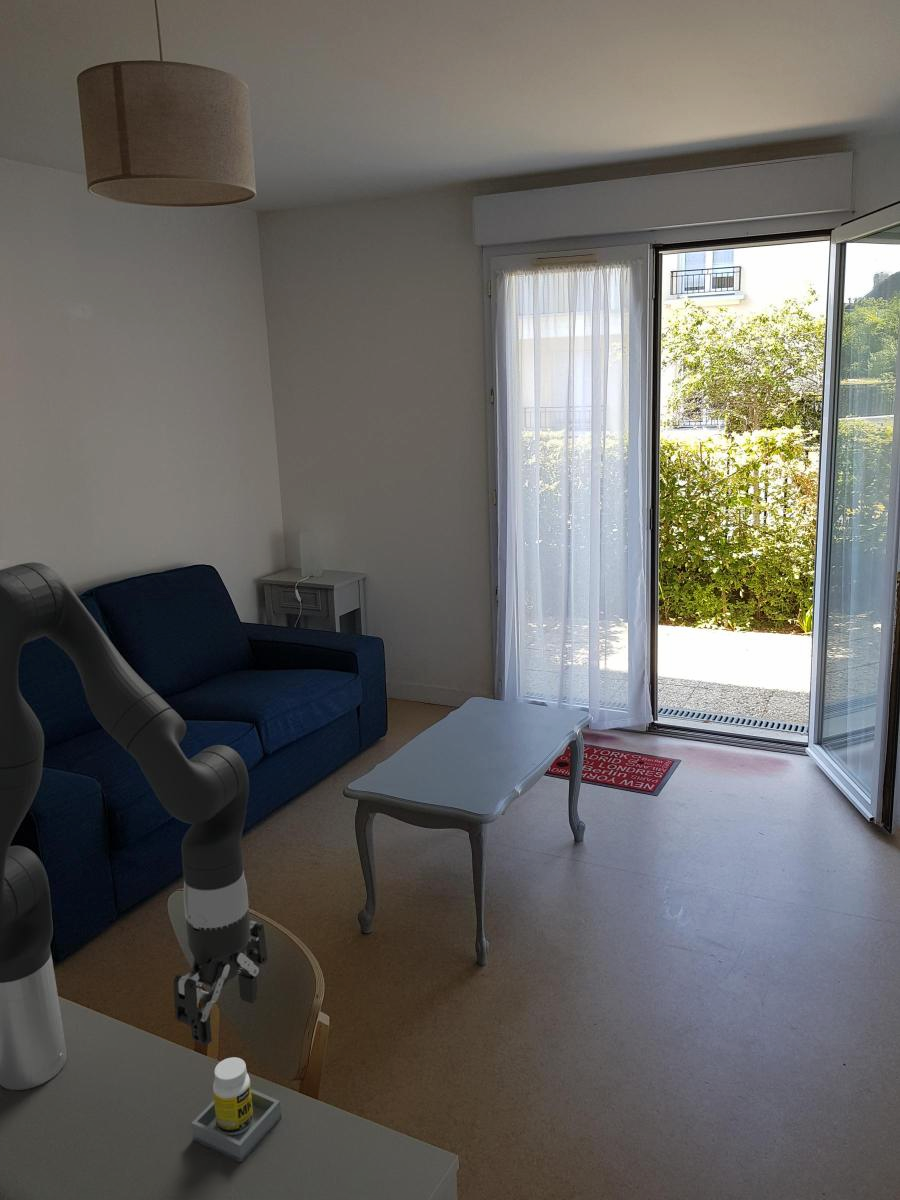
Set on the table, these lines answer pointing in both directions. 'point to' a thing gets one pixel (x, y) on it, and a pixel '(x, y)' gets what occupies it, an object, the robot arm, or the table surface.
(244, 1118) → the supplement bottle
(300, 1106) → the table surface
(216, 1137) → the tray
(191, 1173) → the table surface
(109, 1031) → the table surface
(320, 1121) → the table surface
